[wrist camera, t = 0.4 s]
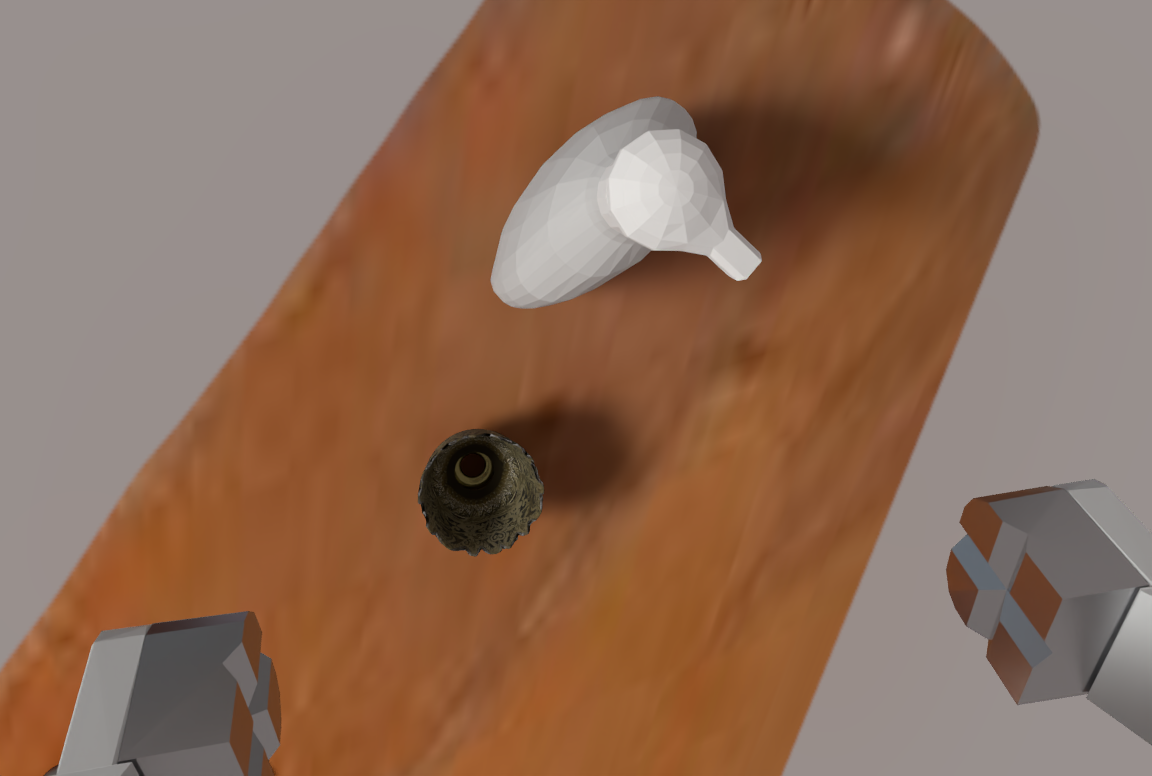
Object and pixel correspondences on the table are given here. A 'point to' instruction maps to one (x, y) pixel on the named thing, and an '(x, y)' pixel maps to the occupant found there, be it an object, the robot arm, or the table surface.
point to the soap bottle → (617, 207)
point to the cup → (480, 493)
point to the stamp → (52, 771)
